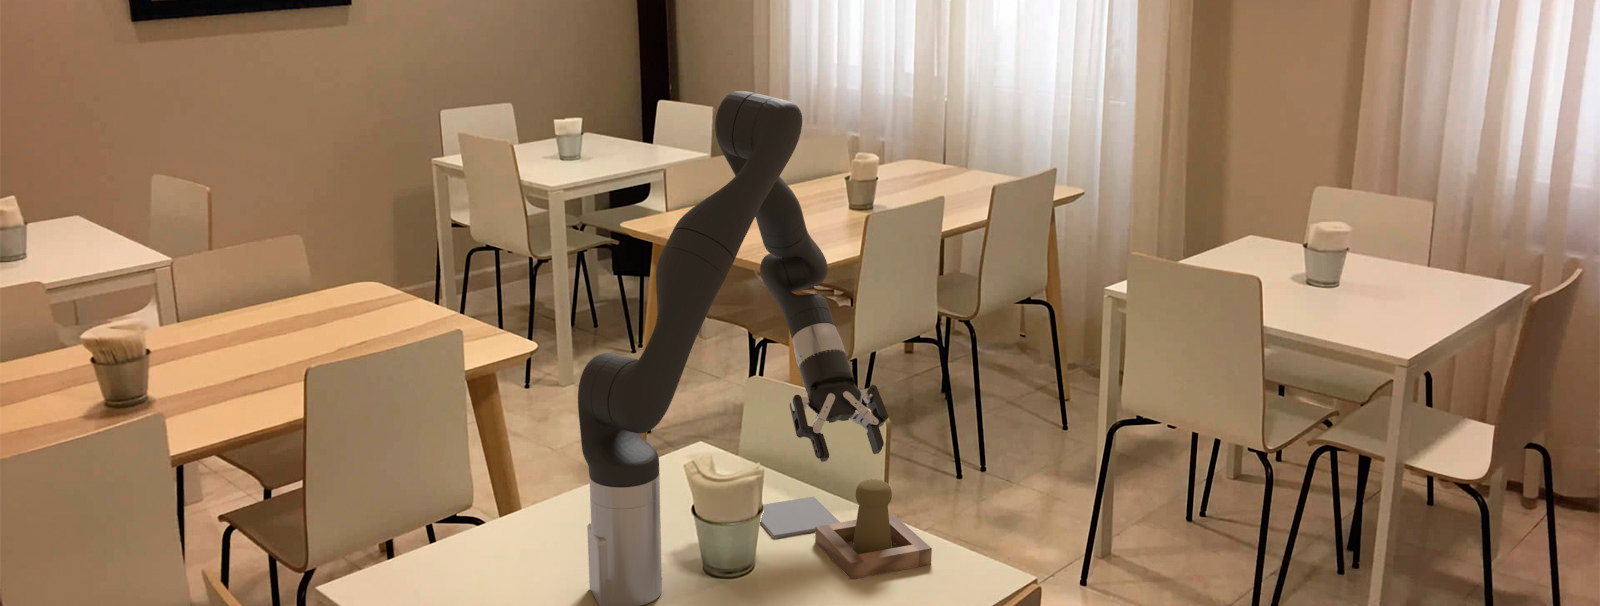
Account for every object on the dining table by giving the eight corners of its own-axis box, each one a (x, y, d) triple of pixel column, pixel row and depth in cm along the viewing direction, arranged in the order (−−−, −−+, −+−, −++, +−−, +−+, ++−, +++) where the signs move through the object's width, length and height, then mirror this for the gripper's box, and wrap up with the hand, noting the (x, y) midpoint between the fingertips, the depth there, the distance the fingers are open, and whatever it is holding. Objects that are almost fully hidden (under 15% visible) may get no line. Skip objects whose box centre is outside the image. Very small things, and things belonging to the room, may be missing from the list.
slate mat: (774, 538, 192) (774, 535, 192) (748, 509, 202) (748, 506, 202) (841, 526, 196) (841, 523, 196) (813, 499, 206) (813, 496, 206)
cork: (890, 564, 184) (892, 492, 181) (848, 560, 185) (849, 489, 182) (895, 546, 190) (897, 476, 187) (854, 542, 191) (856, 472, 188)
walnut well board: (850, 579, 180) (850, 562, 179) (815, 542, 191) (815, 526, 190) (931, 564, 184) (931, 548, 184) (892, 528, 196) (892, 513, 195)
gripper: (785, 353, 193) (815, 451, 185) (872, 342, 198) (904, 438, 191) (772, 376, 199) (800, 472, 191) (856, 366, 204) (887, 459, 197)
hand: (852, 455), depth 191 cm, fingers open, 8 cm apart
